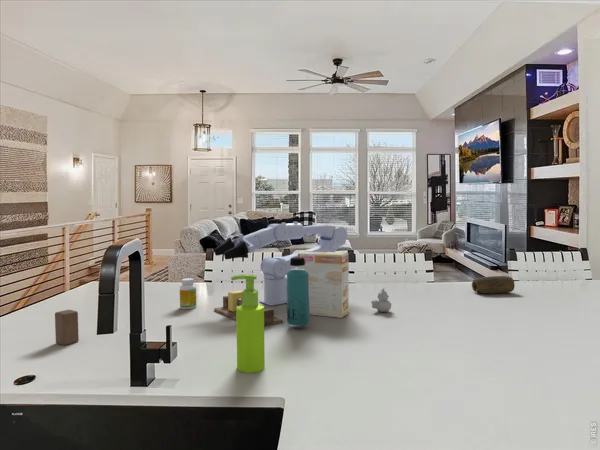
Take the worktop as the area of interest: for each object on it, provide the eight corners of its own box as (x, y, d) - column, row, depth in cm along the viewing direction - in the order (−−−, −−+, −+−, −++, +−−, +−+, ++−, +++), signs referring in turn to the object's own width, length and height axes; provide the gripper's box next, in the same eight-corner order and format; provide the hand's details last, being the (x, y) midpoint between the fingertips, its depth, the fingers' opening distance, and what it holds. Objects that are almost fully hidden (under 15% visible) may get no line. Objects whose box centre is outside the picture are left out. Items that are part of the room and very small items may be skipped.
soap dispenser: (233, 363, 96) (231, 273, 95) (264, 362, 96) (263, 272, 95) (231, 373, 90) (229, 277, 89) (264, 372, 90) (263, 277, 89)
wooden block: (63, 346, 108) (62, 314, 107) (55, 343, 110) (54, 312, 109) (79, 341, 111) (78, 310, 111) (70, 339, 113) (69, 309, 113)
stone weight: (504, 290, 172) (505, 274, 171) (516, 294, 165) (516, 277, 165) (469, 292, 170) (469, 275, 169) (479, 296, 163) (479, 278, 162)
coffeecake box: (349, 313, 138) (349, 252, 137) (341, 318, 132) (341, 254, 131) (306, 308, 145) (306, 250, 144) (297, 313, 138) (296, 252, 137)
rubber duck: (394, 313, 138) (394, 288, 137) (374, 314, 137) (374, 289, 136) (388, 309, 143) (388, 285, 143) (368, 310, 142) (368, 285, 142)
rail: (214, 310, 142) (214, 297, 142) (241, 306, 148) (240, 293, 148) (253, 328, 122) (253, 312, 122) (282, 322, 128) (282, 307, 128)
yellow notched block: (228, 309, 138) (228, 292, 138) (244, 306, 142) (244, 289, 142) (232, 311, 136) (232, 293, 136) (249, 308, 140) (249, 291, 139)
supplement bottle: (192, 309, 143) (191, 280, 143) (177, 309, 145) (176, 280, 144) (199, 306, 149) (198, 278, 148) (184, 305, 150) (184, 277, 149)
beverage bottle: (312, 325, 124) (312, 256, 123) (305, 332, 118) (305, 259, 117) (291, 323, 126) (290, 255, 125) (283, 330, 120) (282, 258, 119)
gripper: (242, 227, 153) (207, 240, 146) (263, 232, 141) (226, 246, 134) (247, 245, 155) (213, 259, 148) (268, 252, 143) (231, 267, 136)
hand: (219, 254), depth 141 cm, fingers open, 7 cm apart
